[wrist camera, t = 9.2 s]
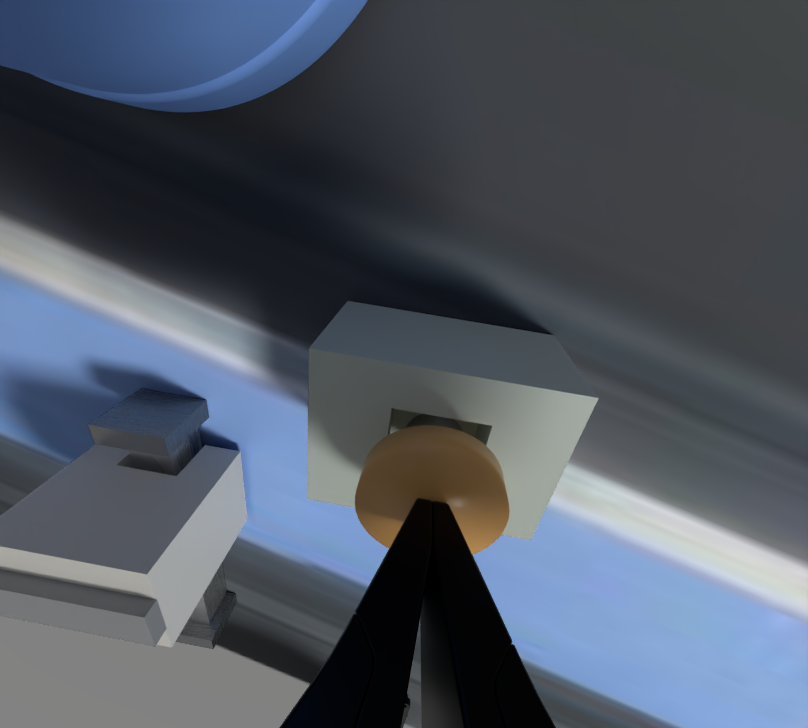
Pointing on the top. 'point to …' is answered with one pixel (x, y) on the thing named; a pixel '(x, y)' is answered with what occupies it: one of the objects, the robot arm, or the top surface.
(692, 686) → the top surface
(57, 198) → the top surface
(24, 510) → the carriage
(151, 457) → the rail
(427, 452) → the button
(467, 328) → the cabinet
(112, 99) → the water jug
